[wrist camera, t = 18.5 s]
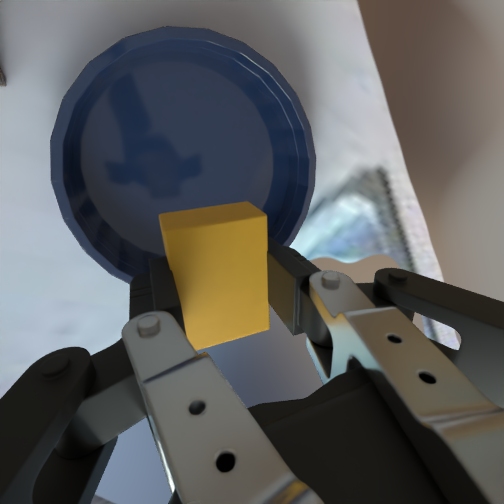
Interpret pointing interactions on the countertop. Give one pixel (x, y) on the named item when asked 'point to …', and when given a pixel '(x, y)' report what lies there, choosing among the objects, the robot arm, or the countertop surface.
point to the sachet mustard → (219, 270)
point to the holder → (2, 79)
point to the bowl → (177, 143)
